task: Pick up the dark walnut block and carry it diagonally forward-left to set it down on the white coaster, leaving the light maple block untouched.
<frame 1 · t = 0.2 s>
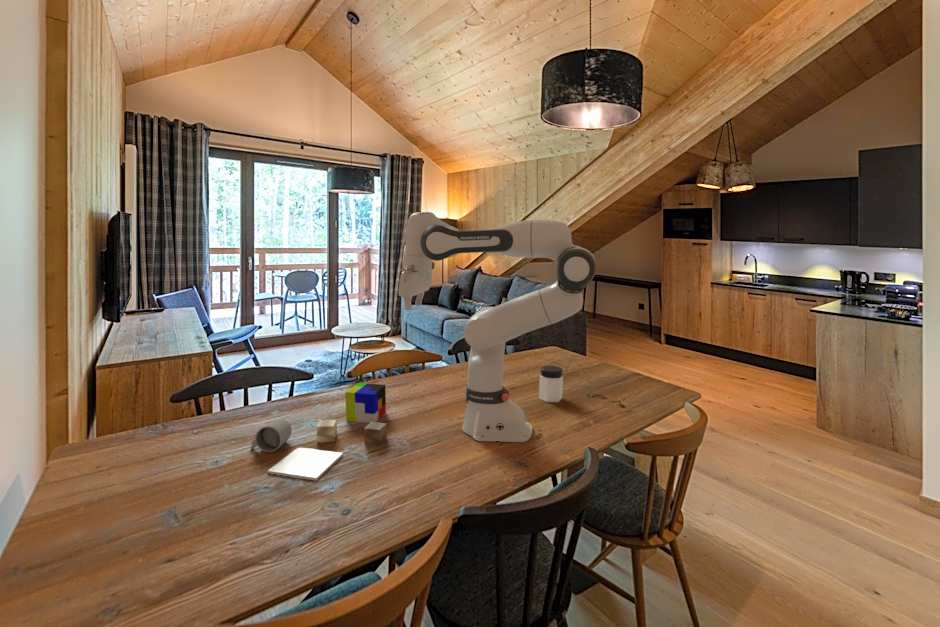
hand: (413, 307, 151), 39 cm above the table, tool pointing down, fingers open, 8 cm apart
walnut block: (375, 441, 143), on the table
maple block: (327, 438, 144), on the table
white coaster: (306, 464, 128), on the table
puzzle toy: (366, 417, 162), on the table
jar: (550, 399, 181), on the table
ceramic mug: (270, 447, 138), on the table
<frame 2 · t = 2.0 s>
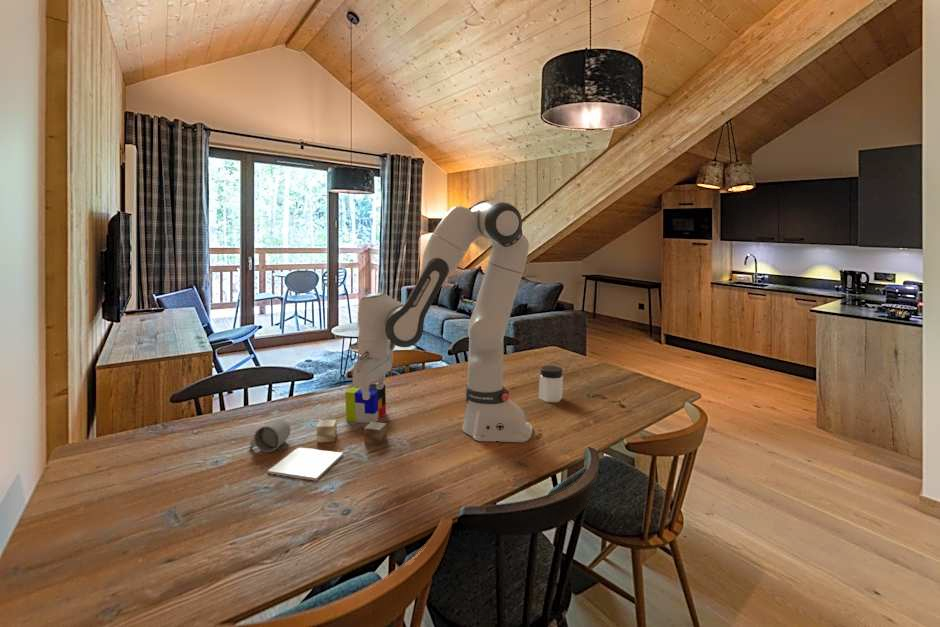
hand: (373, 393, 140), 15 cm above the table, tool pointing down, fingers open, 8 cm apart
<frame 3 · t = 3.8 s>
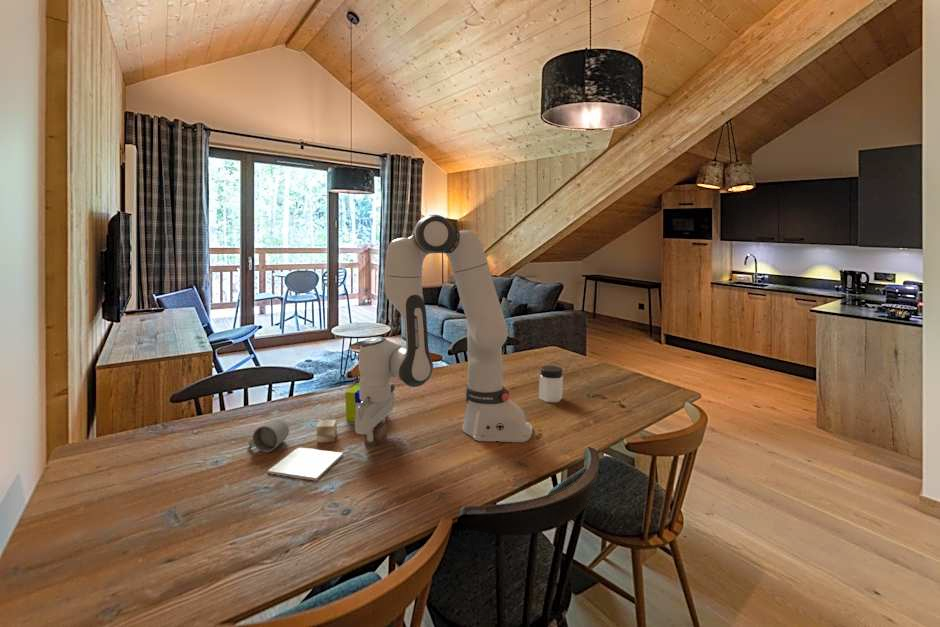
hand: (375, 435, 143), 2 cm above the table, tool pointing down, fingers closed on walnut block, 5 cm apart
walnut block: (375, 441, 143), on the table, touching gripper
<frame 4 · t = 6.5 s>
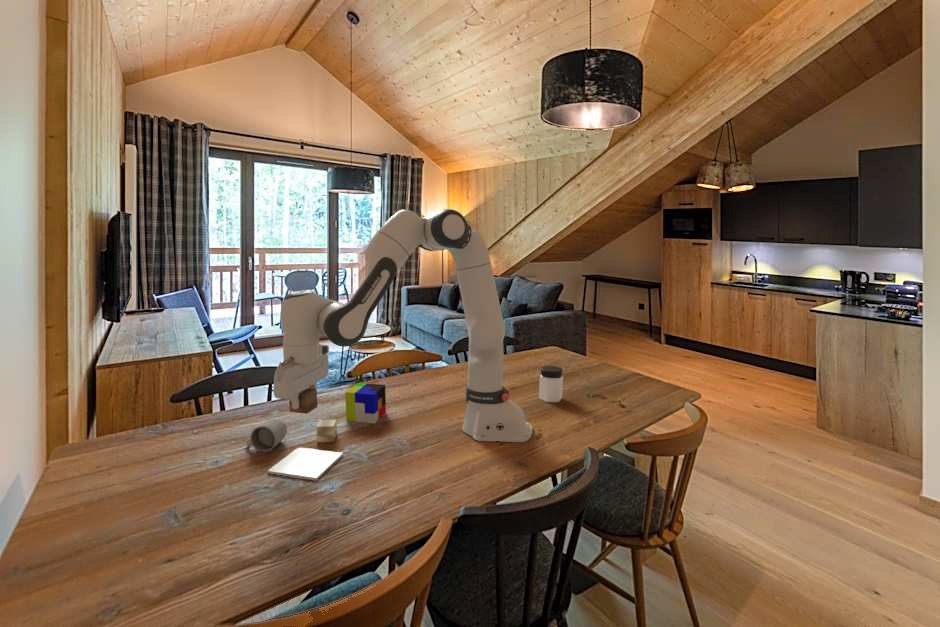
hand: (303, 403, 125), 17 cm above the table, tool pointing down, fingers closed on walnut block, 5 cm apart
walnut block: (303, 409, 126), point 16 cm above the table, touching gripper
when the fingers open (3 cm above the table, at t = 9.5 s): walnut block stays where it is, resting on white coaster.
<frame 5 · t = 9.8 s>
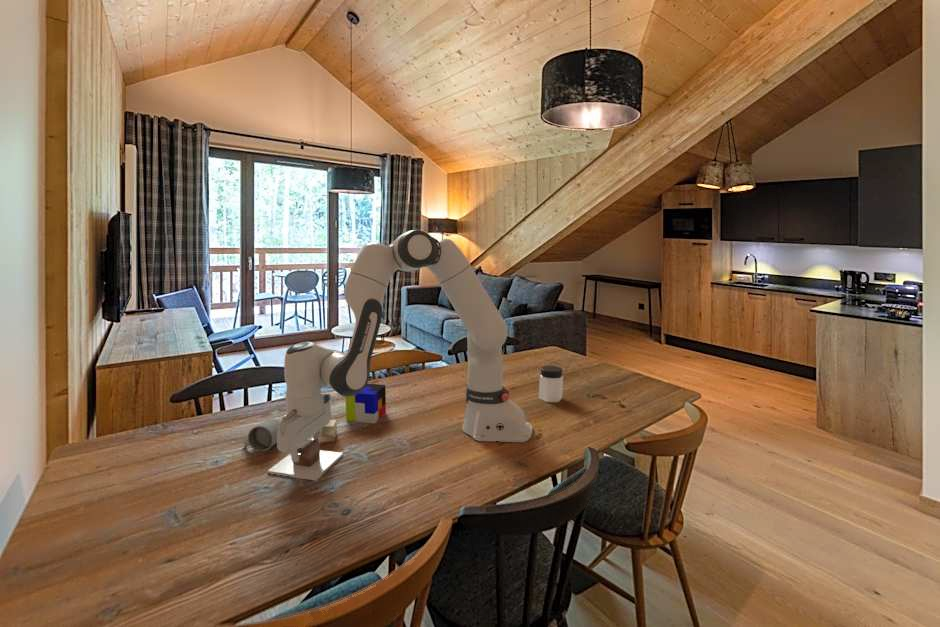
hand: (306, 452, 128), 3 cm above the table, tool pointing down, fingers open, 8 cm apart
walnut block: (306, 461, 128), point 1 cm above the table, touching white coaster
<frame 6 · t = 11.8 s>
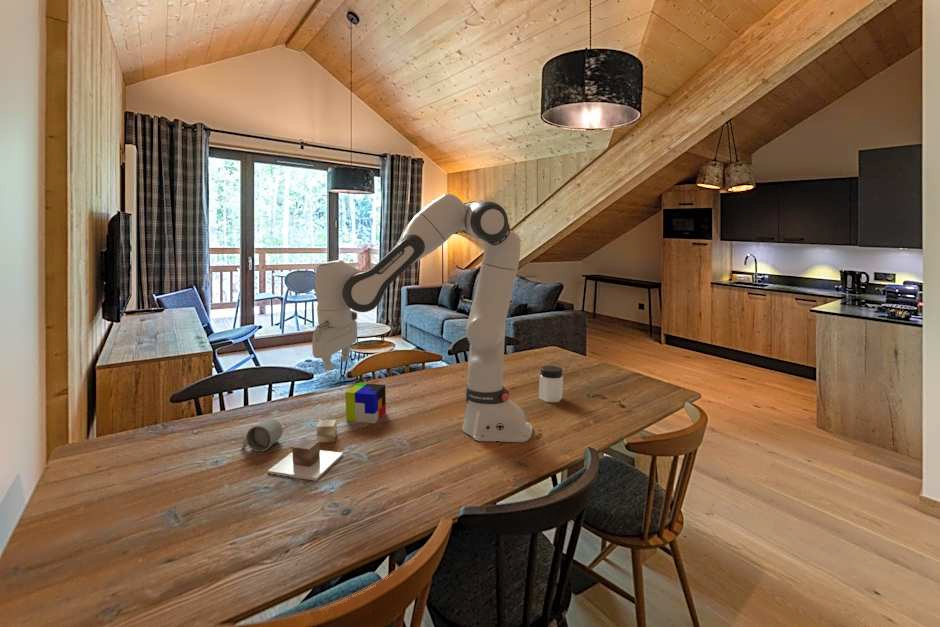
hand: (337, 365, 136), 24 cm above the table, tool pointing down, fingers open, 8 cm apart
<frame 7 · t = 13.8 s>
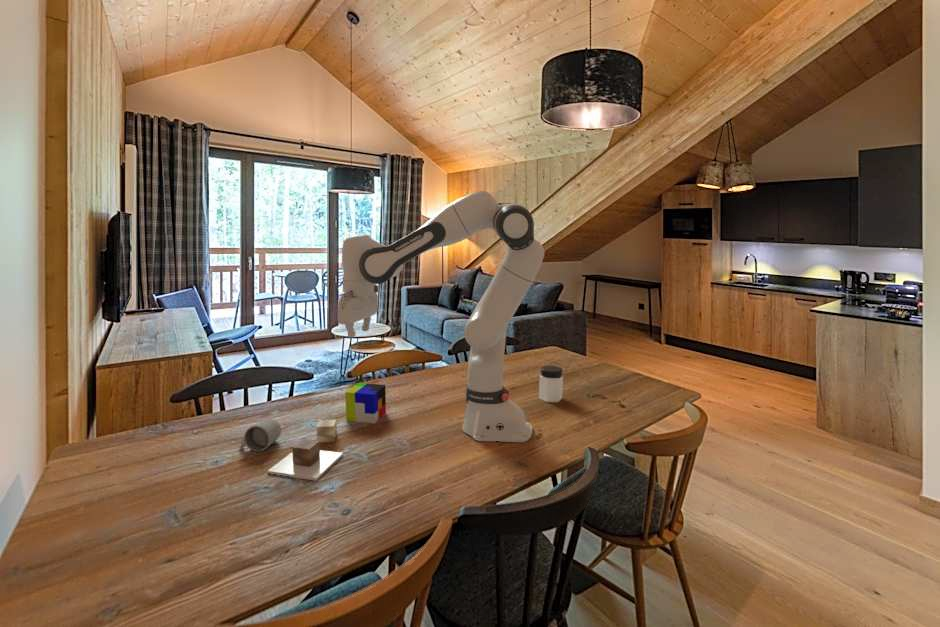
hand: (358, 333, 146), 31 cm above the table, tool pointing down, fingers open, 8 cm apart
at the end: walnut block inside the target area on the white coaster (0.0 cm from its centre), point 0.8 cm above the white coaster's base; walnut block tilted 0°; the gripper is holding nothing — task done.
